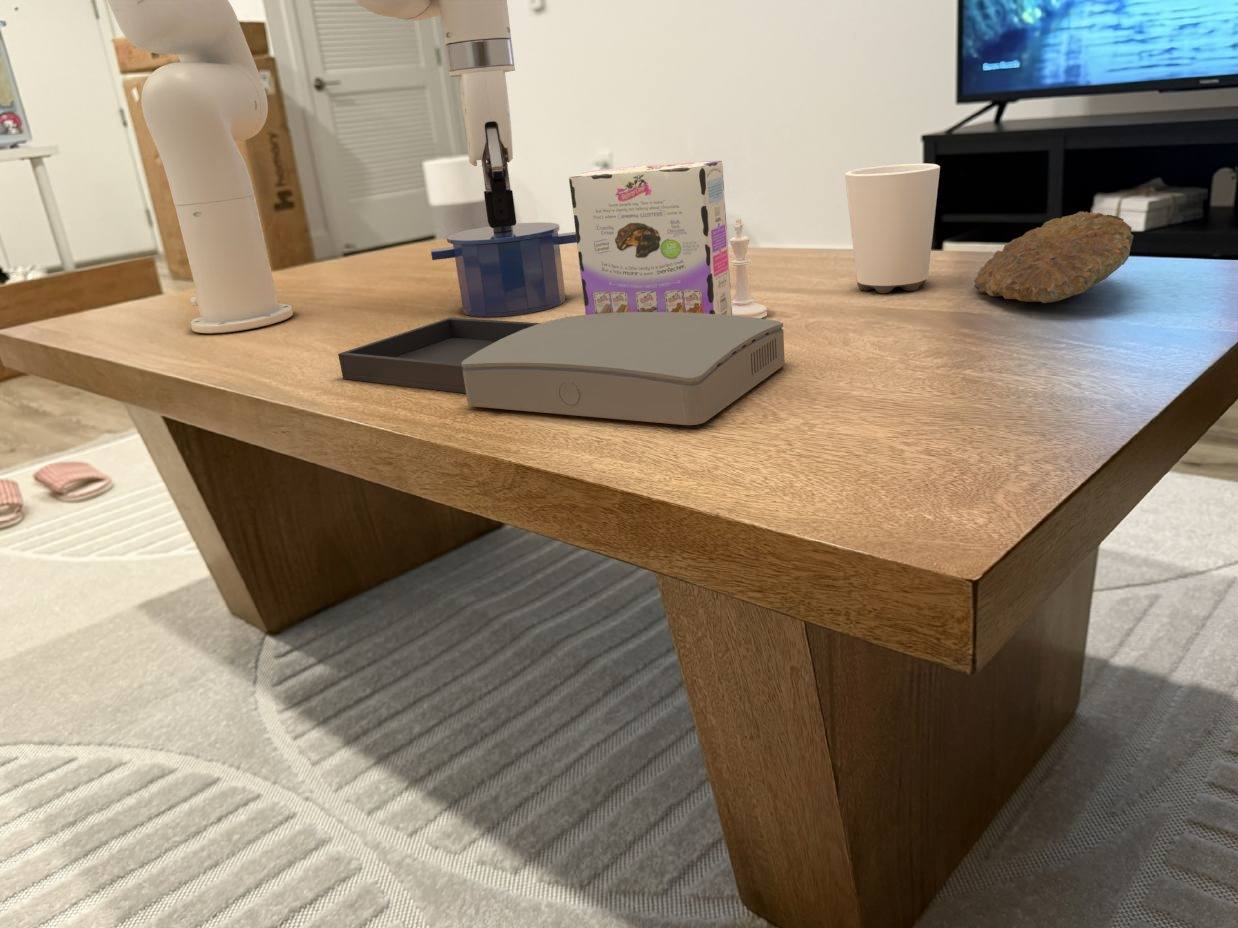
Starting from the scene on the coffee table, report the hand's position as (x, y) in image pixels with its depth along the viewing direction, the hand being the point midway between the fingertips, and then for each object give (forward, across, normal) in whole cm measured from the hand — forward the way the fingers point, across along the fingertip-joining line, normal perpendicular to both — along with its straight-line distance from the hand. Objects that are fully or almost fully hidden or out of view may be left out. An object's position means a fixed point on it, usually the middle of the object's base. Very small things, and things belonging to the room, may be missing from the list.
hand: (502, 223), depth 118 cm
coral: (+10, +33, +51) cm, 61 cm away
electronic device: (+10, +42, +7) cm, 44 cm away
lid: (+1, 0, 0) cm, 1 cm away
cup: (+10, +18, +41) cm, 46 cm away
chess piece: (+10, +23, +23) cm, 34 cm away
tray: (+10, +27, -7) cm, 30 cm away
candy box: (+10, +27, +13) cm, 31 cm away
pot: (+10, 0, 0) cm, 10 cm away
